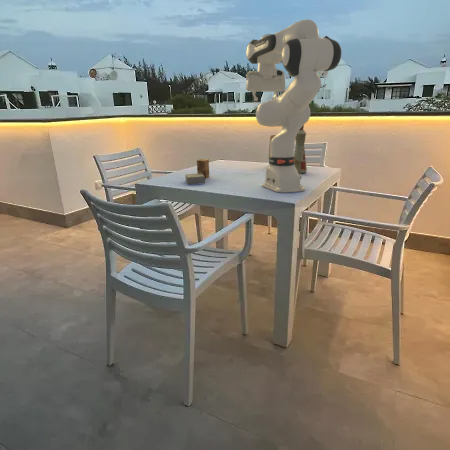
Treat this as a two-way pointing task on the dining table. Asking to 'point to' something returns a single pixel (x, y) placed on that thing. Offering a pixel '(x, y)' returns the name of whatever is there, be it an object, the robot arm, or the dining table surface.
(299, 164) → the bottle
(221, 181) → the dining table surface
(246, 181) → the dining table surface
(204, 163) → the walnut block
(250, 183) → the dining table surface
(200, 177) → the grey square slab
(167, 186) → the dining table surface
